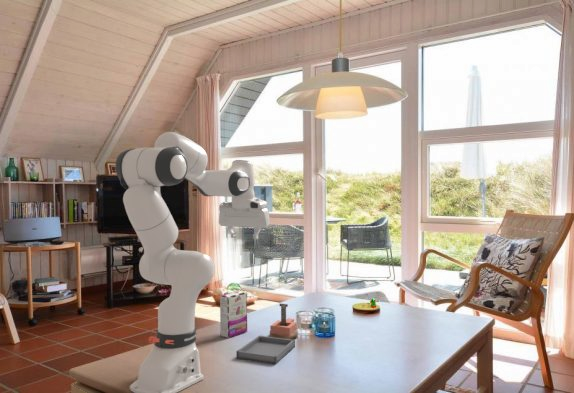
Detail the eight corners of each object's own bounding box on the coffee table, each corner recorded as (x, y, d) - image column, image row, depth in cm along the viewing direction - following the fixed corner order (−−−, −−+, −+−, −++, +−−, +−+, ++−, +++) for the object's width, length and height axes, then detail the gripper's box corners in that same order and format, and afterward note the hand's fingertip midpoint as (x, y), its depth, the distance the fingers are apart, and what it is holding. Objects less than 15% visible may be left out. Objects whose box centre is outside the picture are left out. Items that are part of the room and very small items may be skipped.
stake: (291, 342, 174) (291, 308, 174) (265, 339, 178) (265, 305, 178) (301, 334, 184) (301, 301, 184) (276, 331, 188) (276, 299, 188)
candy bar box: (238, 329, 190) (238, 290, 190) (247, 331, 187) (247, 291, 187) (219, 336, 181) (219, 294, 181) (228, 338, 178) (228, 296, 178)
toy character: (388, 312, 220) (388, 298, 220) (373, 316, 212) (373, 302, 212) (370, 308, 228) (370, 294, 228) (355, 312, 220) (355, 298, 220)
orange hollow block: (289, 335, 176) (289, 327, 176) (270, 333, 178) (270, 325, 178) (300, 326, 187) (300, 319, 187) (282, 324, 190) (282, 317, 190)
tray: (275, 364, 151) (275, 356, 151) (236, 358, 157) (236, 351, 157) (295, 346, 169) (295, 340, 169) (258, 342, 174) (258, 335, 174)
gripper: (215, 202, 175) (216, 238, 177) (264, 204, 168) (265, 241, 170) (222, 200, 181) (224, 235, 183) (270, 202, 174) (271, 237, 176)
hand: (244, 238), depth 176 cm, fingers open, 8 cm apart
